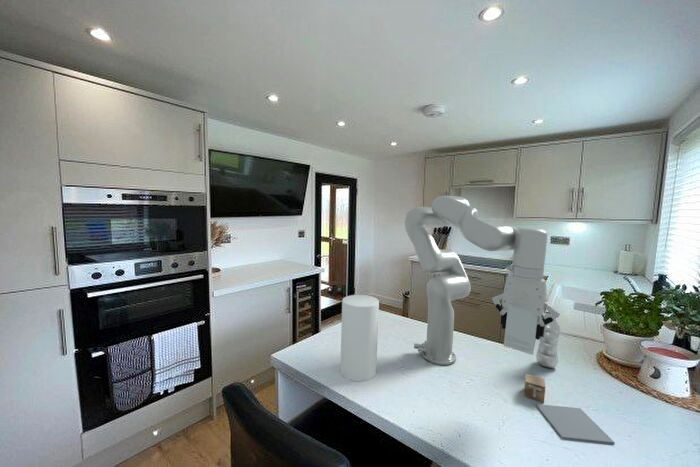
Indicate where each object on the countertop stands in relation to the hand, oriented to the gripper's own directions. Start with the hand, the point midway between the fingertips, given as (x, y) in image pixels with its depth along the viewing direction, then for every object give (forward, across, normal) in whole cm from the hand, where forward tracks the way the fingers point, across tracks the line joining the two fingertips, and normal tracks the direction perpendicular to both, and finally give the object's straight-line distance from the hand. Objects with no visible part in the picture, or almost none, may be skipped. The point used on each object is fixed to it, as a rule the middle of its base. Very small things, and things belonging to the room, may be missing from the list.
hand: (521, 332), depth 80 cm
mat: (+22, +13, +4) cm, 26 cm away
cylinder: (+23, -42, -22) cm, 53 cm away
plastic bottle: (+22, +1, +33) cm, 40 cm away
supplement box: (+4, 0, 0) cm, 4 cm away
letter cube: (+22, +3, +10) cm, 24 cm away
